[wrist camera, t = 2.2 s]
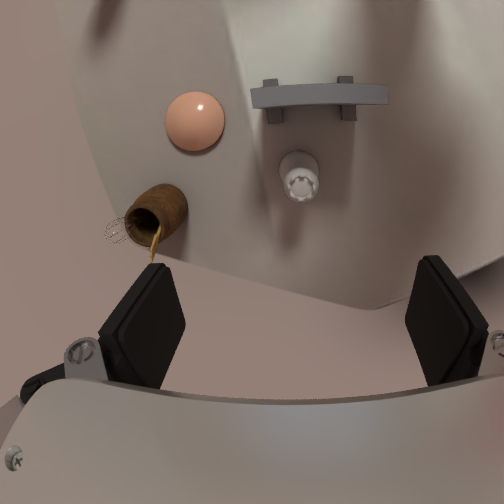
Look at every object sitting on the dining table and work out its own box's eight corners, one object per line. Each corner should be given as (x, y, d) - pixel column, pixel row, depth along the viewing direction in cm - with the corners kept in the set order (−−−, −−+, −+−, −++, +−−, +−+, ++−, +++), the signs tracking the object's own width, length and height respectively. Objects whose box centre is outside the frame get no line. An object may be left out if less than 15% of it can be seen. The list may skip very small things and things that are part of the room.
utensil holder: (148, 178, 33) (93, 213, 23) (194, 187, 33) (152, 227, 23) (145, 219, 36) (97, 266, 26) (188, 230, 36) (151, 283, 26)
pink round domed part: (220, 86, 27) (219, 86, 27) (228, 145, 30) (227, 146, 30) (163, 99, 28) (160, 99, 28) (172, 154, 32) (170, 155, 31)
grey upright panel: (352, 77, 25) (384, 63, 15) (356, 120, 27) (389, 127, 18) (261, 81, 26) (247, 66, 17) (266, 123, 29) (255, 131, 19)
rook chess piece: (283, 146, 30) (281, 158, 23) (322, 155, 30) (332, 170, 23) (275, 183, 32) (270, 206, 25) (312, 192, 32) (319, 217, 25)
